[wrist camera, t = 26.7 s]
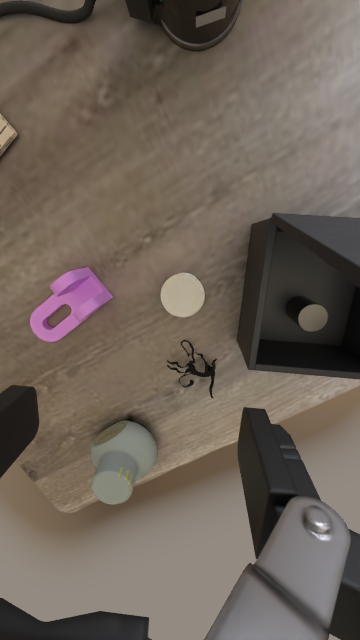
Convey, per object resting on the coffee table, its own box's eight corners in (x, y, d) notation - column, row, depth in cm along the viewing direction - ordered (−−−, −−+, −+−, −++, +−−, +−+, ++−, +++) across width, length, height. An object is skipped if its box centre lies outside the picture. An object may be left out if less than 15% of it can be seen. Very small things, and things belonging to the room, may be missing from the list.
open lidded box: (342, 349, 40) (386, 381, 31) (236, 340, 41) (247, 369, 31) (371, 231, 35) (434, 227, 26) (251, 224, 36) (270, 217, 27)
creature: (169, 380, 45) (217, 389, 43) (157, 397, 40) (211, 408, 38) (171, 335, 43) (222, 343, 40) (159, 347, 38) (216, 356, 35)
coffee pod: (161, 303, 40) (156, 311, 35) (169, 265, 38) (165, 269, 33) (198, 311, 40) (198, 321, 35) (208, 274, 38) (209, 279, 33)
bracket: (88, 266, 39) (65, 271, 33) (113, 297, 40) (96, 308, 34) (28, 318, 42) (-4, 332, 35) (53, 345, 43) (26, 364, 36)
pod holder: (308, 321, 38) (325, 333, 34) (283, 319, 39) (295, 331, 34) (313, 296, 37) (331, 305, 33) (287, 294, 38) (300, 302, 33)
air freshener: (117, 468, 49) (97, 523, 40) (90, 434, 47) (62, 483, 38) (167, 443, 47) (159, 495, 37) (140, 407, 45) (125, 452, 36)
